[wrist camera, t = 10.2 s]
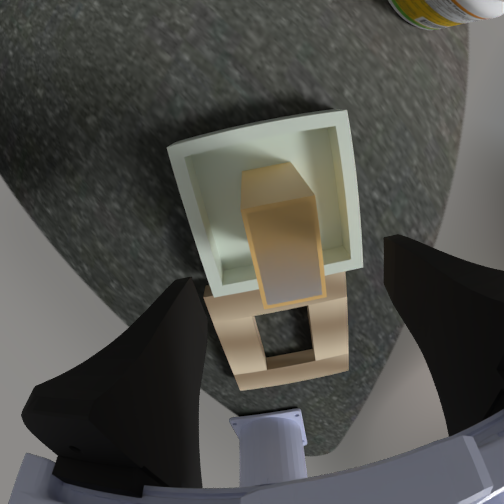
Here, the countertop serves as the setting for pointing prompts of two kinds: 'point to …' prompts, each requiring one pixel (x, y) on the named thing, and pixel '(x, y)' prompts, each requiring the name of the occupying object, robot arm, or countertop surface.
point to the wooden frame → (288, 365)
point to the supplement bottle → (446, 11)
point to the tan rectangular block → (283, 235)
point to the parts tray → (261, 155)
